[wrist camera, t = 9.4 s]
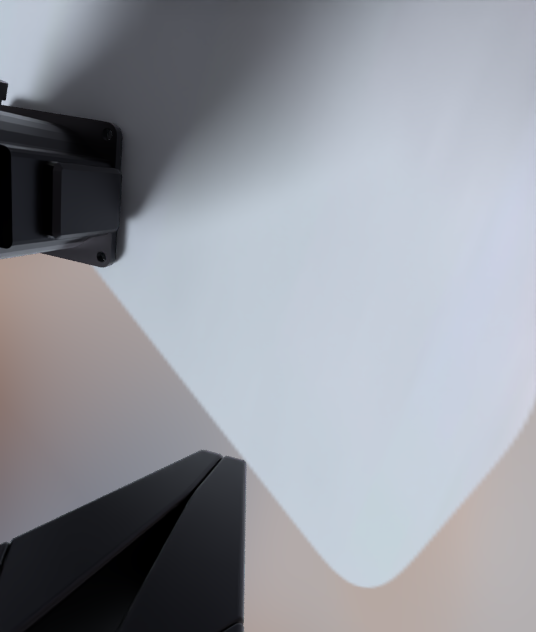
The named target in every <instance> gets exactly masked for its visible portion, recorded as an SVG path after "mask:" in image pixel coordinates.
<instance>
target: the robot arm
mask: <svg viewBox="0 0 536 632" xmlns="http://www.w3.org/2000/svg"><path fill="white" fill-rule="evenodd" d="M7 88H8V83H6V82H4V81H2V80H0V259H4V258H11V257H17V256H23V255H29V254H36V253H43V254H47V255H51V256H56V257H60V258H64V259H68V260H73V261H77V262H81V263H85V264H89V265H94V266H98V267H107V266H110V265H112V264H113V263H114V261H115V255H116V237H117V229H118V228H119V216H120V199H121V182H122V175H121V173H120V167H121V150H122V132H121V130H120V128H119V127H118V126H117V125H115V124H113V123H109V122H104V121H98V120H92V119H85V118H79V117H73V116H67V115H61V114H54V113H48V112H42V111H36V110H30V109H23V108H17V107H11V106H5V105H1V102H2V100H6V94H7ZM109 130H111V132H112V138H111V139H110V140H109V139H108V137H107V133H108V131H109ZM102 252H103V253H104V254H105V255H106V260H103V258H102ZM245 513H246V462H245V461H244V460H241V459H237V458H234V457H229V456H225V457H223V456H222V455H221V454H218V453H214V452H211V451H207V450H201V451H198V452H196V453H194V454H191V455H189V456H187V457H185V458H183V459H181V460H179V461H177V462H174V463H173V464H170V465H168V466H166V467H164V468H162V469H160V470H157V471H155V472H153V473H151V474H149V475H147V476H145V477H143V478H141V479H138V480H136V481H134V482H132V483H130V484H128V485H126V486H124V487H122V488H119V489H117V490H115V491H113V492H111V493H109V494H107V495H104V496H102V497H100V498H98V499H96V500H94V501H92V502H90V503H88V504H85V505H83V506H81V507H79V508H77V509H75V510H73V511H70V512H68V513H66V514H64V515H62V516H60V517H58V518H56V519H54V520H51V521H49V522H47V523H45V524H43V525H41V526H39V527H37V528H34V529H32V530H30V531H28V532H26V533H24V534H22V535H20V536H17V537H15V538H13V539H12V540H11V542H10V544H9V543H8V542H4V543H2V544H0V632H244V627H243V623H244V578H245V515H246V514H245Z"/></svg>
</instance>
